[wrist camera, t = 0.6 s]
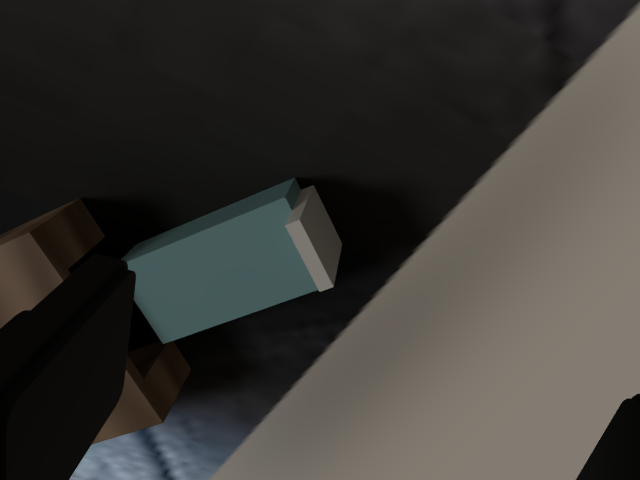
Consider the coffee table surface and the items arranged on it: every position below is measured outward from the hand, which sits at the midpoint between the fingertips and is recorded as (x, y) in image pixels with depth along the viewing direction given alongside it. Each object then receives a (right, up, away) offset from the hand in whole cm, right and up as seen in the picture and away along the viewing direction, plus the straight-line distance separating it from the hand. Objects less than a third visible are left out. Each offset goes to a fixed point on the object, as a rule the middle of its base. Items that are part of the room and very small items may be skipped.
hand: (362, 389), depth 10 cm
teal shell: (-7, +2, +32) cm, 33 cm away
